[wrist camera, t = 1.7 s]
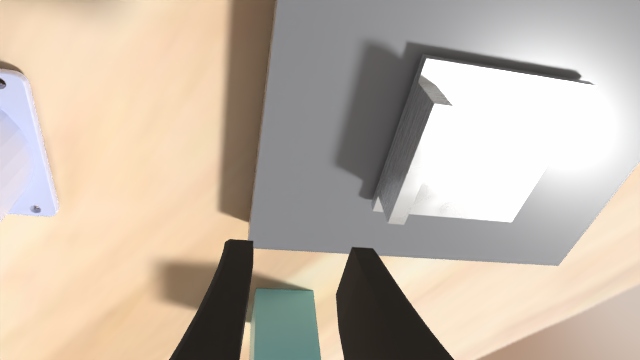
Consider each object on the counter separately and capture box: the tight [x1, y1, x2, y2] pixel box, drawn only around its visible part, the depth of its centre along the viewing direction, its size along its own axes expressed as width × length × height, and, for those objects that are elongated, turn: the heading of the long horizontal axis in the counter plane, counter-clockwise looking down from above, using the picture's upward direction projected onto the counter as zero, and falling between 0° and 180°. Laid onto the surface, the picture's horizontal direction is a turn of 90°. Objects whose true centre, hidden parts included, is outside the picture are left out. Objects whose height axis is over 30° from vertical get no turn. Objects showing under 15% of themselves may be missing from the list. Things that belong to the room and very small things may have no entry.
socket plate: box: [248, 0, 640, 266], centre depth 20 cm, size 20×16×2 cm
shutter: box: [371, 54, 597, 225], centre depth 18 cm, size 8×8×2 cm
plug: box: [249, 288, 321, 360], centre depth 26 cm, size 4×4×7 cm
